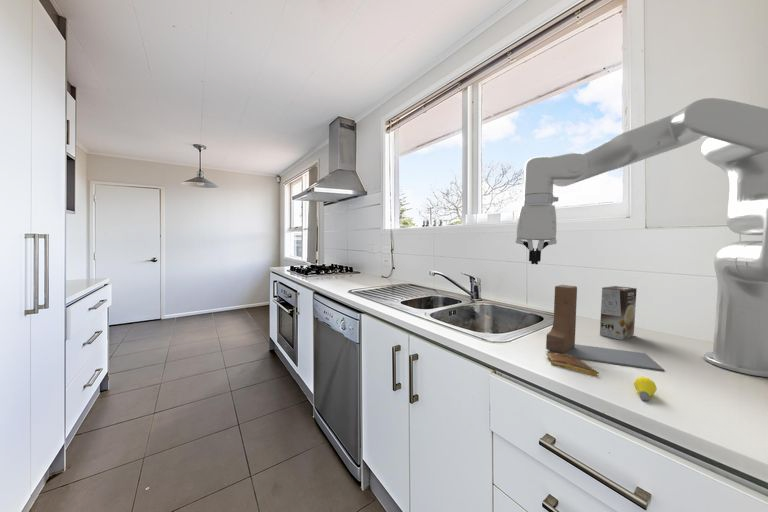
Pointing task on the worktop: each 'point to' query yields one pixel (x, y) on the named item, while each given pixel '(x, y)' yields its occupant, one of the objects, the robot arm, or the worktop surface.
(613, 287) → the coffee box
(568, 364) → the sandwich
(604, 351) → the mat
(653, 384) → the light bulb
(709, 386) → the worktop surface
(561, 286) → the wooden block
